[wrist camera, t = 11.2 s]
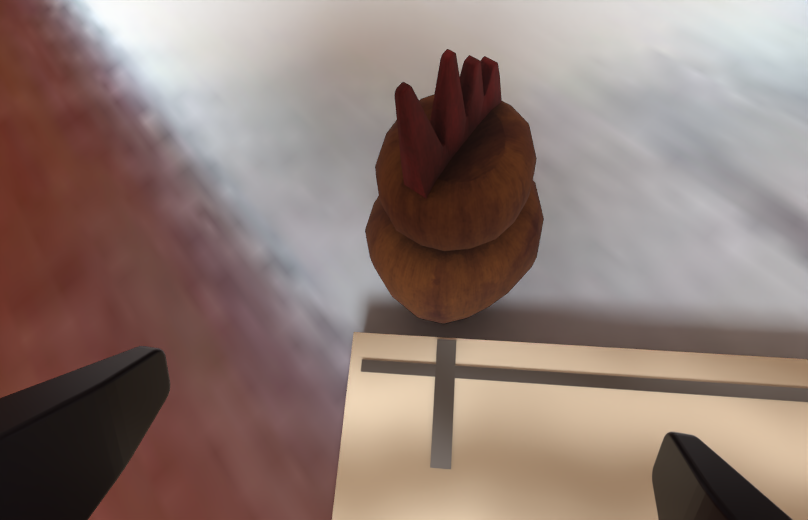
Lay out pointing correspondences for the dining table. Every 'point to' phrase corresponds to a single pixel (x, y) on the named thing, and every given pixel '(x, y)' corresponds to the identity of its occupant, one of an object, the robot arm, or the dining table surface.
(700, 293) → the dining table surface
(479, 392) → the maple board
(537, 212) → the wooden figurine
